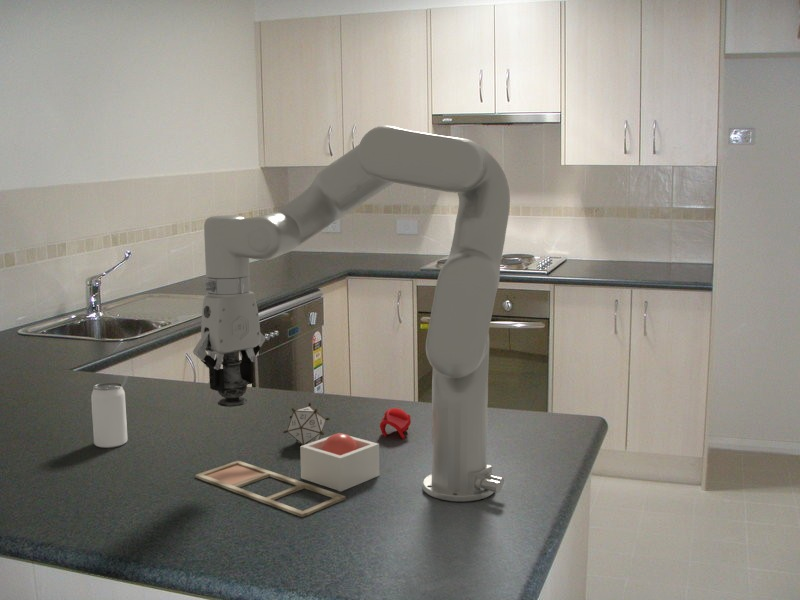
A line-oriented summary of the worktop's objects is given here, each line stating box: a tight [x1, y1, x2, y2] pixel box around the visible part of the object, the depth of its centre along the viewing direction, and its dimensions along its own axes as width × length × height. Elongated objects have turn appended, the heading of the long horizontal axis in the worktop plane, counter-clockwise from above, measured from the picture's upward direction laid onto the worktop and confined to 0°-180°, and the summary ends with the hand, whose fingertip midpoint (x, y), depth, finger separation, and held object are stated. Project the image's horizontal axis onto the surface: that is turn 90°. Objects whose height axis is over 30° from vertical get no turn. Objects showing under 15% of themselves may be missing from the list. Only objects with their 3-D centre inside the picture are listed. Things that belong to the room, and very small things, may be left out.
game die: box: [282, 402, 331, 446], centre depth 179 cm, size 9×8×10 cm
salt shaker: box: [217, 351, 249, 408], centre depth 158 cm, size 6×6×12 cm
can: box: [90, 381, 128, 449], centre depth 179 cm, size 6×6×12 cm
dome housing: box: [299, 435, 380, 492], centre depth 160 cm, size 10×10×6 cm
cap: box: [379, 407, 412, 440], centre depth 184 cm, size 8×6×6 cm
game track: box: [194, 460, 347, 518], centre depth 156 cm, size 28×10×1 cm, turn 50°
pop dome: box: [322, 432, 358, 456], centre depth 160 cm, size 6×6×6 cm
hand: (231, 385), depth 159 cm, fingers closed on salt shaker, 5 cm apart
